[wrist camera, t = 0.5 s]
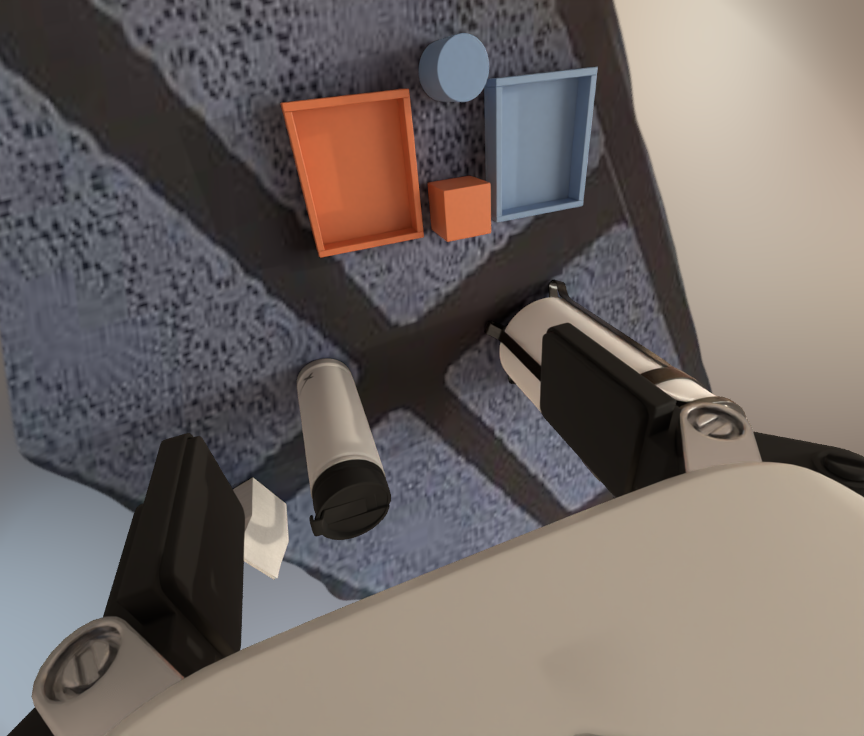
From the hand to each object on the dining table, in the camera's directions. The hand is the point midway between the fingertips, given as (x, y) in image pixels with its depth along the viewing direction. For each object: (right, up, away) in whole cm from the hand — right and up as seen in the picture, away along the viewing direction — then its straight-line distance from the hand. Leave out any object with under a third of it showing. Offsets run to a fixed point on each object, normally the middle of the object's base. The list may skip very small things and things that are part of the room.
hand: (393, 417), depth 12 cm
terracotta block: (+3, +18, +32) cm, 37 cm away
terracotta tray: (-6, +19, +27) cm, 34 cm away
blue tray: (+11, +24, +31) cm, 41 cm away
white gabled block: (-22, -15, +43) cm, 51 cm away
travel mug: (-12, 0, +38) cm, 39 cm away
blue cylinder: (+2, +27, +25) cm, 37 cm away
